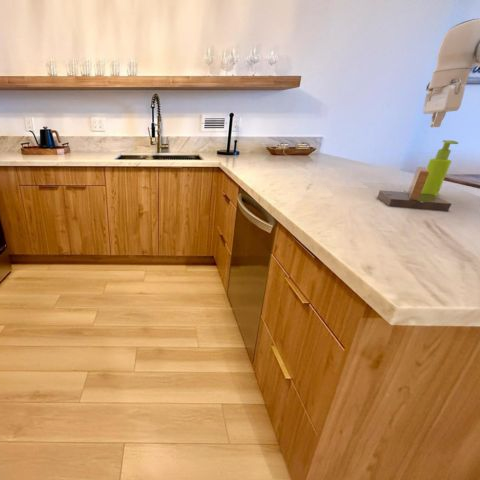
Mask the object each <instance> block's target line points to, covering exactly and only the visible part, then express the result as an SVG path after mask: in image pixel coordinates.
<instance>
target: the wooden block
mask: <svg viewBox="0 0 480 480" xmlns="http://www.w3.org/2000/svg"><path fill="white" fill-rule="evenodd" d="M416 167H417V168H416V170H415V172H414V175H413V178H412V181H411V184H410V186H409V189H408V191H407V192H408V194H409V199H410V200H417V201H418V200H419V197H420V195H421V192H422V190H423V187H424V184H425V182H426V179H427V177H428V174H429V172H428V171H427V167H422V166H416Z"/></svg>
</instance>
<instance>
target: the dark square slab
mask: <svg viewBox="0 0 480 480" xmlns="http://www.w3.org/2000/svg"><path fill="white" fill-rule="evenodd" d="M376 198H377V199H378V200H379V201H380V202H381V203H384V204H385V205H386V206H387V207H389V208H390V207H392V208H400V209H401V208H402V209H413V210H415V209H416V210H426V211H437V212H449V211H450V208H451V205H452V203H451V202H448V201H447V200H445V199H443V198H442V197H439V196H438V195H437V196H435V195H434V194H424V193H421V195H420V197H419V200H418V201H417V200H410V199H409V194H408V191H406V190H403V191H398V190H397V191H394V190H382V189H380V190H379V191H378V195H377V197H376Z"/></svg>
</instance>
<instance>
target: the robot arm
mask: <svg viewBox="0 0 480 480" xmlns="http://www.w3.org/2000/svg"><path fill="white" fill-rule="evenodd" d="M472 67H477V68H479V67H480V18H472V19H468V20H465V21H463V22H460V23H458V24H455V25H454V26H452V27H450V28H449V30H447V31H446V32H445V34H444V36H443V38H442V41H441V43H440V46H439V49H438V52H437V56H436V64H435V68H434V69H433V72H432V74H431V77H430V80H429V82H428V83H427V85H426V87H425V92H426V95H425V98H424V104H423V114H424V115H427V114H428V115H429V114H430V115H431V116H430V120H431V121H430V128H440V127H441V124H442V122H443V120H444V119H445V117H446V114H447V113H449V112H457V111H459V109H460V108H461V105H462V103H463V98H464V94H465V87H466V85H467V82H468V79H469V76H470V72H471V69H472Z"/></svg>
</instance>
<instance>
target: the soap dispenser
mask: <svg viewBox="0 0 480 480" xmlns="http://www.w3.org/2000/svg"><path fill="white" fill-rule="evenodd" d="M442 143H443V145H442V147H441V148H440V149H438V150H437V153H436V155H435V157H434V158H430V159H429V162H428V164H427V167H426V169H427V171H428V172H429V174H428V177H427V179H426V182H425V184H424V187H423V190H422V192H421V193H424V194H434V195H435V196H437V197H438V194H439V192H440V190H441V188H442V185H443V182H444V181H445V178H446V175H447V173H448V171H449V168H450V165H451V163H452V160H450V159H449V157H450V154H451V151H452V150H450V146H451V145H458V144H459V142H458V141H457V140H442Z"/></svg>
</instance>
